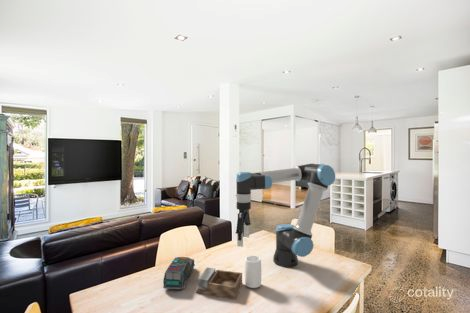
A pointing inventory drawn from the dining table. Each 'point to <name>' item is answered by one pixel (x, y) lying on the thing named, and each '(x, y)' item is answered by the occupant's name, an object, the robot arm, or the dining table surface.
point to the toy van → (178, 273)
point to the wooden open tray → (219, 283)
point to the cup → (253, 271)
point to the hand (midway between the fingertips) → (243, 241)
